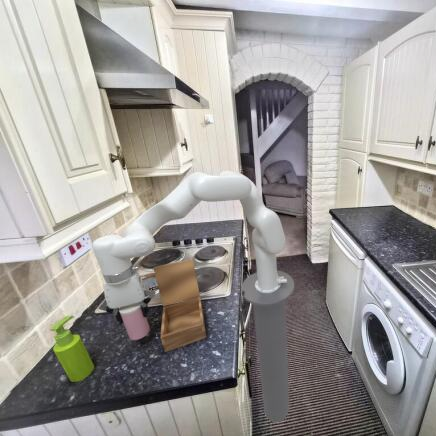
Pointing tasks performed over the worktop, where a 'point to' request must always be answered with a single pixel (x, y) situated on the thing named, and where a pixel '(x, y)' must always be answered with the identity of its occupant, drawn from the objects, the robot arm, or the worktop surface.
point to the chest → (182, 324)
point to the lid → (177, 282)
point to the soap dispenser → (71, 352)
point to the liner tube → (134, 321)
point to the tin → (149, 280)
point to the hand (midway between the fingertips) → (134, 317)
